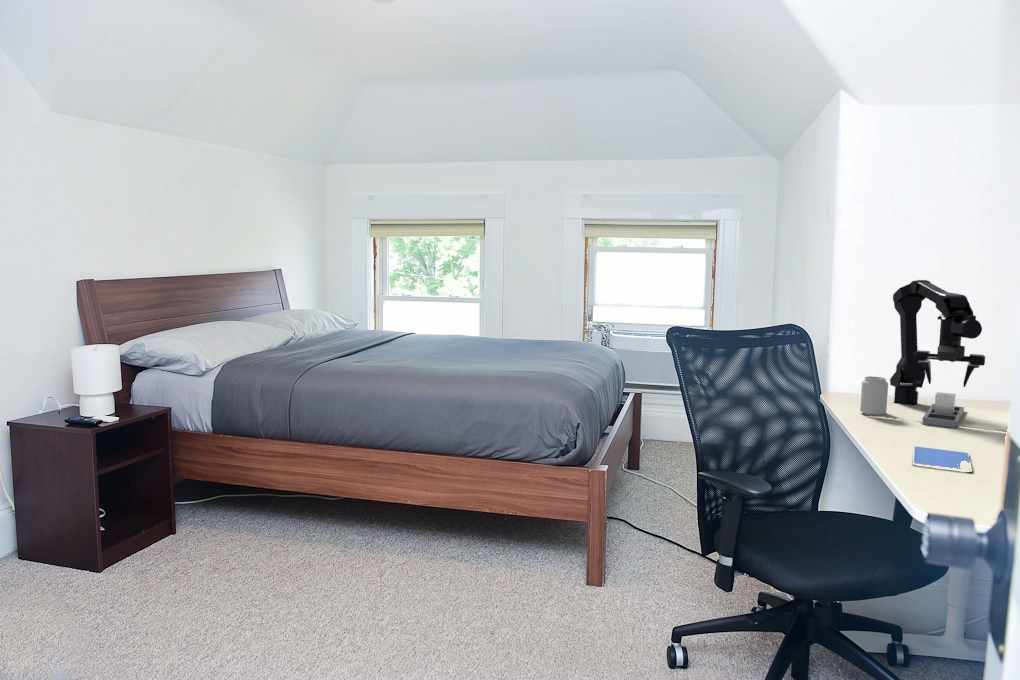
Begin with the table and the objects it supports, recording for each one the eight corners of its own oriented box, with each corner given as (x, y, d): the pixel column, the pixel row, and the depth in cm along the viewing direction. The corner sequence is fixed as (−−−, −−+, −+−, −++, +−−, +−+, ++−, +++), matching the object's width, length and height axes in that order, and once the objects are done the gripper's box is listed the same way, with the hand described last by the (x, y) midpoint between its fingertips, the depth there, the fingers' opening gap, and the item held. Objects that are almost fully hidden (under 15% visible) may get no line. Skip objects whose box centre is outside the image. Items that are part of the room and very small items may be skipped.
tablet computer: (912, 450, 190) (913, 445, 190) (969, 457, 184) (969, 451, 184) (911, 468, 174) (911, 462, 174) (973, 476, 168) (973, 470, 167)
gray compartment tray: (922, 424, 218) (922, 417, 218) (931, 409, 240) (932, 403, 240) (957, 428, 213) (957, 421, 213) (963, 413, 235) (964, 407, 235)
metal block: (933, 416, 226) (935, 394, 225) (935, 413, 230) (937, 392, 229) (952, 418, 223) (954, 396, 222) (953, 416, 227) (955, 394, 227)
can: (880, 412, 235) (882, 375, 234) (890, 417, 228) (892, 379, 227) (856, 411, 236) (858, 375, 235) (865, 416, 229) (867, 379, 227)
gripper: (912, 335, 223) (909, 385, 224) (985, 339, 212) (981, 392, 213) (917, 332, 232) (914, 381, 233) (987, 336, 221) (983, 387, 222)
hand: (946, 385), depth 225 cm, fingers open, 9 cm apart
